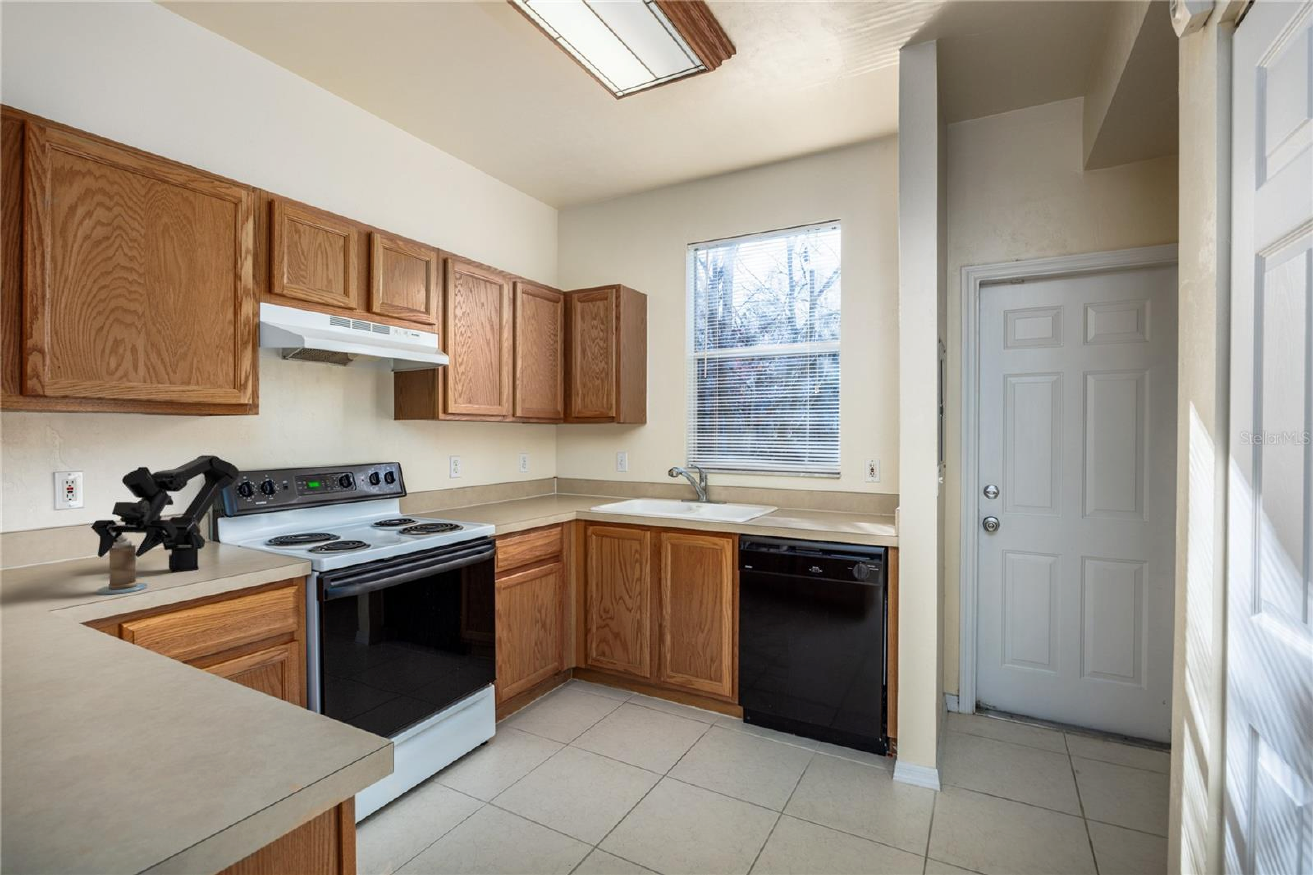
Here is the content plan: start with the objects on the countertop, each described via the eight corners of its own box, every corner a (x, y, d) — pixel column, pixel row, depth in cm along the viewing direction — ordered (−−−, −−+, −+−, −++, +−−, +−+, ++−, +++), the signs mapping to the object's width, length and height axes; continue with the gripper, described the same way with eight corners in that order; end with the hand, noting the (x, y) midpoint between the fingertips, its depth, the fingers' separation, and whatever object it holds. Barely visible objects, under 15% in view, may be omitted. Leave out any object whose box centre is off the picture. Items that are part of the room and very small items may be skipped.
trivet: (146, 583, 170) (146, 580, 170) (147, 590, 162) (147, 588, 162) (97, 588, 163) (97, 586, 163) (96, 596, 156) (96, 594, 156)
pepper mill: (129, 583, 166) (129, 532, 166) (141, 586, 164) (141, 534, 164) (104, 588, 161) (103, 535, 161) (115, 591, 159) (115, 537, 159)
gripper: (96, 490, 165) (60, 538, 155) (170, 490, 167) (139, 538, 156) (120, 515, 173) (87, 562, 163) (190, 515, 175) (162, 562, 164)
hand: (118, 556), depth 161 cm, fingers open, 9 cm apart
